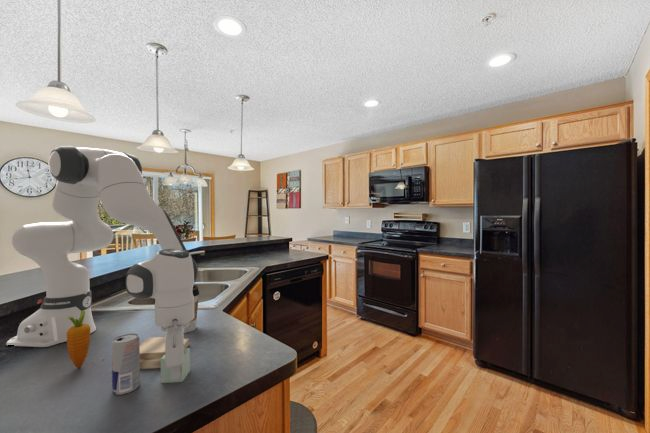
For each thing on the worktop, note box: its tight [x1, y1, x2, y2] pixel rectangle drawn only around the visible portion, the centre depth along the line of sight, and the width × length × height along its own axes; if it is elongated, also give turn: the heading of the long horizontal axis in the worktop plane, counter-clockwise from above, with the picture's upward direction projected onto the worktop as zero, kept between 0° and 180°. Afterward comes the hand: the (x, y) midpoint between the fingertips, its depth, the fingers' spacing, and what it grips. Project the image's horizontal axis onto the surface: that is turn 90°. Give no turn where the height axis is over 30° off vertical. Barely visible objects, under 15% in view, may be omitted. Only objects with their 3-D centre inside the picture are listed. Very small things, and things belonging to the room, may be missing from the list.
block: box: [160, 347, 191, 384], centre depth 71 cm, size 5×5×6 cm
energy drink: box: [111, 333, 141, 396], centre depth 66 cm, size 5×5×12 cm
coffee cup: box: [184, 284, 200, 334], centre depth 100 cm, size 8×8×15 cm
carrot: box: [66, 311, 91, 369], centre depth 75 cm, size 5×5×15 cm
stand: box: [139, 336, 190, 370], centre depth 81 cm, size 13×13×4 cm
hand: (175, 367), depth 71 cm, fingers open, 8 cm apart
